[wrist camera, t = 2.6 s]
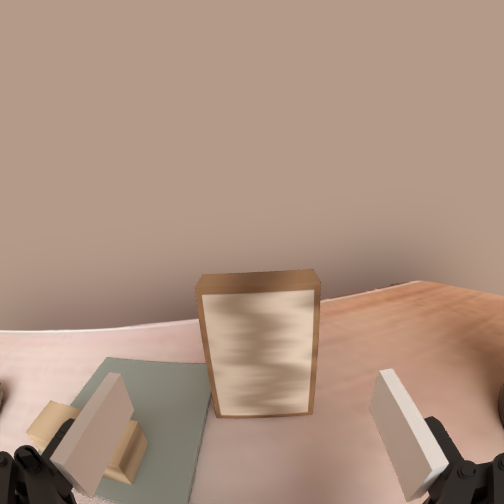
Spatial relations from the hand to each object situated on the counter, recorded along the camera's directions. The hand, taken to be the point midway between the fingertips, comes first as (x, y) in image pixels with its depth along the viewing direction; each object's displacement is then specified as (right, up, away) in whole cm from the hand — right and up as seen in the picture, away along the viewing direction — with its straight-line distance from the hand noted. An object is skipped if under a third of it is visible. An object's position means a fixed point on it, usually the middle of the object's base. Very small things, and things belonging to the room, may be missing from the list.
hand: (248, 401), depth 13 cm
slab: (+1, -8, +12) cm, 15 cm away
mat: (-12, -9, +10) cm, 18 cm away
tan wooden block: (-14, -10, +4) cm, 18 cm away
